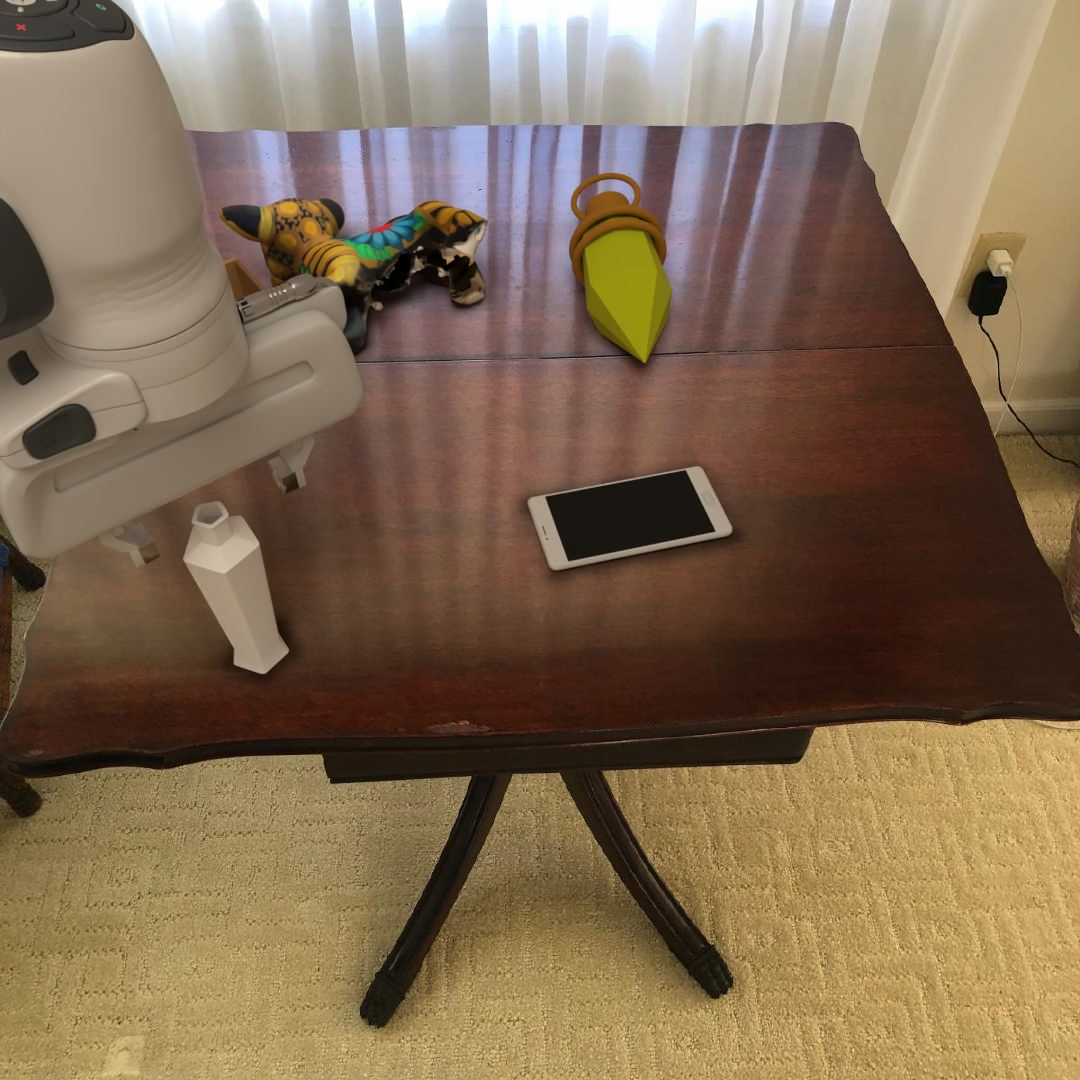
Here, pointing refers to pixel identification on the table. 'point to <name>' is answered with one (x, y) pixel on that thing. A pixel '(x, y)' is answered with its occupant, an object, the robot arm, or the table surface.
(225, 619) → the perfume bottle
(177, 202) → the robot arm
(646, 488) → the smartphone
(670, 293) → the plumb bob
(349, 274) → the multicolored animal figure
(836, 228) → the table surface
